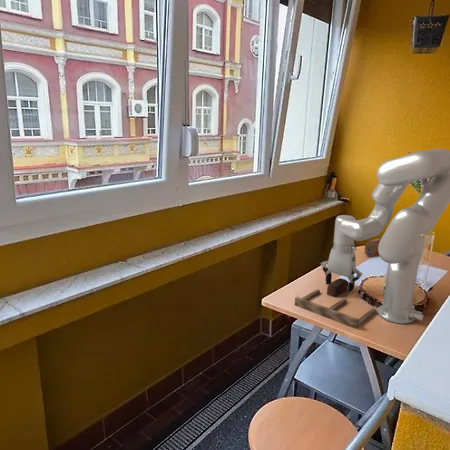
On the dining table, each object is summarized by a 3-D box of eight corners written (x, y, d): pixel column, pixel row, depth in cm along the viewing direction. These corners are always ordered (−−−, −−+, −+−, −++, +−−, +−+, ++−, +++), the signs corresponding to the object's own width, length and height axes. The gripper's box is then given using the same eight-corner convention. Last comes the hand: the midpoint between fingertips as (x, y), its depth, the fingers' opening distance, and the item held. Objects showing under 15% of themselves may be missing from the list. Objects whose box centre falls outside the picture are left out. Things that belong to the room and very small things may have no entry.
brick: (335, 298, 158) (336, 287, 156) (326, 294, 160) (327, 284, 159) (348, 290, 165) (349, 279, 164) (339, 287, 168) (340, 276, 166)
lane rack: (375, 312, 146) (376, 305, 145) (356, 328, 135) (356, 320, 134) (316, 292, 162) (317, 285, 161) (294, 305, 151) (295, 297, 150)
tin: (367, 258, 201) (369, 242, 198) (362, 256, 203) (364, 240, 201) (387, 253, 208) (389, 238, 205) (382, 252, 210) (384, 236, 208)
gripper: (368, 249, 154) (363, 290, 159) (328, 240, 165) (324, 278, 170) (359, 254, 149) (355, 296, 153) (318, 244, 160) (315, 283, 165)
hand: (339, 287), depth 162 cm, fingers open, 9 cm apart
